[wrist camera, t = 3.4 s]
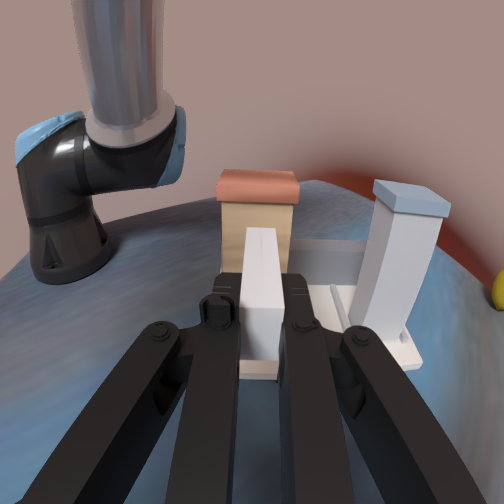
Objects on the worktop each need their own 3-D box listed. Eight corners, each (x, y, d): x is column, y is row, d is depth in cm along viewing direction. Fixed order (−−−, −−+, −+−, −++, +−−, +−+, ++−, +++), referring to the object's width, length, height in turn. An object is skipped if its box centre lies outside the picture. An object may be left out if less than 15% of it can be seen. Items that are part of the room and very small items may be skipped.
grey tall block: (401, 340, 26) (451, 204, 19) (354, 344, 26) (396, 196, 19) (388, 313, 30) (425, 186, 23) (344, 314, 30) (374, 179, 23)
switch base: (419, 368, 24) (443, 327, 21) (201, 376, 24) (194, 331, 21) (372, 274, 40) (381, 238, 37) (221, 270, 40) (220, 231, 37)
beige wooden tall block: (281, 345, 26) (299, 187, 19) (222, 343, 26) (216, 184, 19) (279, 314, 30) (292, 171, 23) (226, 312, 30) (224, 169, 23)
